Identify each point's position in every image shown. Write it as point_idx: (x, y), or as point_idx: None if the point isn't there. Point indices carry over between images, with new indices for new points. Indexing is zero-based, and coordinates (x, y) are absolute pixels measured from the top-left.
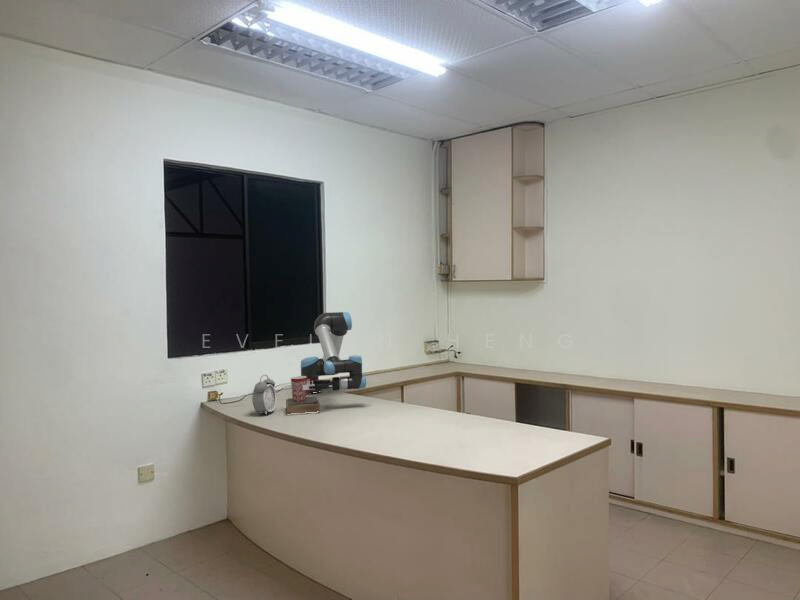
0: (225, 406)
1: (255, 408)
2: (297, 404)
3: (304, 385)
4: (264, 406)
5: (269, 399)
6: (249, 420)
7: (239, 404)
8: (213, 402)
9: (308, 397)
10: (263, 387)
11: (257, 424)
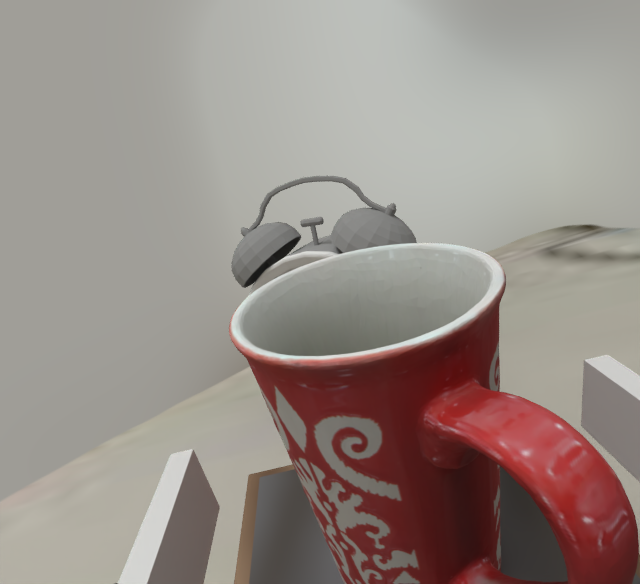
0: None
1: None
2: (254, 561)
3: (163, 479)
4: None
5: None
6: (234, 384)
7: (550, 280)
8: (552, 236)
9: None
10: (232, 266)
11: (139, 428)
